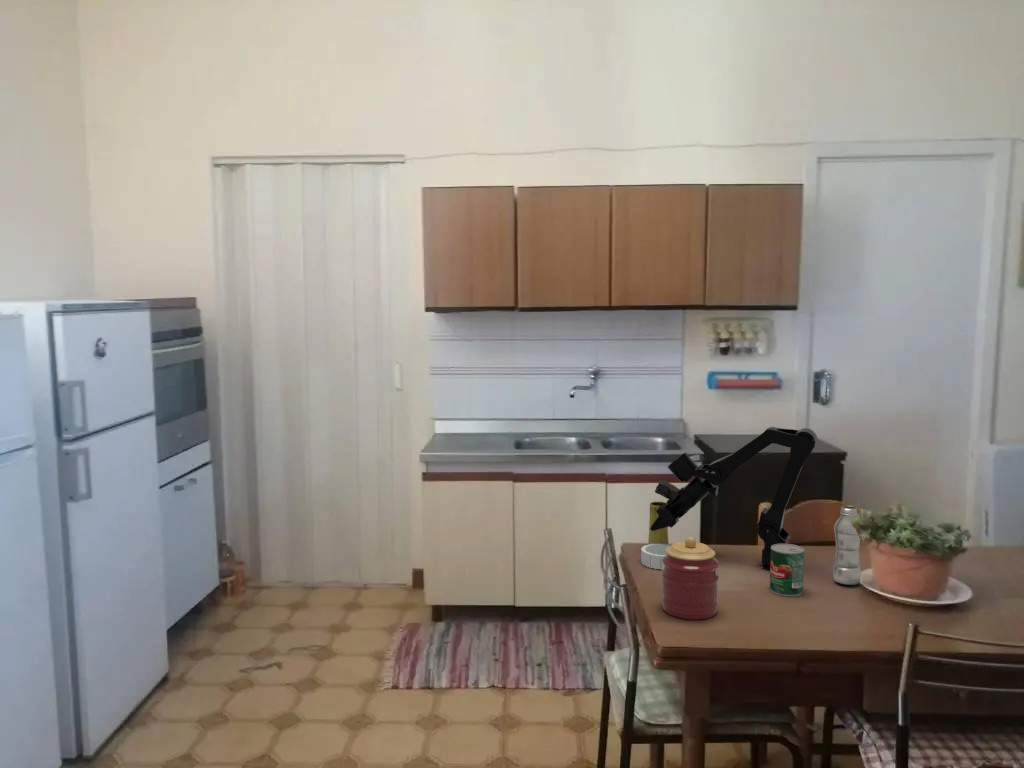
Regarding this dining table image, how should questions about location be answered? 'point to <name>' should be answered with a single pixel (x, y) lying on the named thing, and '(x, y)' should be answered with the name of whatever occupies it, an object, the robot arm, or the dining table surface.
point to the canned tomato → (786, 569)
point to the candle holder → (654, 555)
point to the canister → (690, 580)
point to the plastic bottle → (846, 548)
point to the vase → (660, 534)
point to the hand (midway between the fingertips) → (653, 527)
